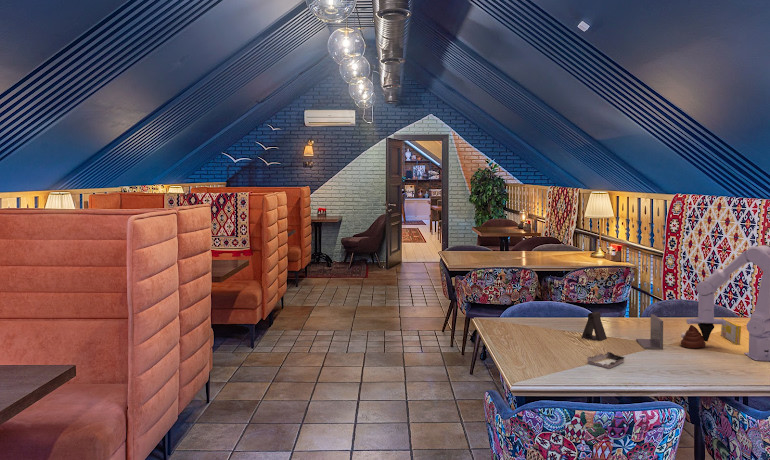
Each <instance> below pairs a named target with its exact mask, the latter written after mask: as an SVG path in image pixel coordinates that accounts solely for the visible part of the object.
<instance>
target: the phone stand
mask: <svg viewBox="0 0 770 460" xmlns="http://www.w3.org/2000/svg"><path fill="white" fill-rule="evenodd" d="M593 333H594V335H593ZM581 338H582V339H587V340H592V341H597V342H602V341H604V340H607V334H606V331H605V328H604V325H603V322H602V318H601V312H600V311H597V310H596V311H593V312H589V313H588V314H587V321H586V325H584V330H583V332H582V335H581Z"/></svg>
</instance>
